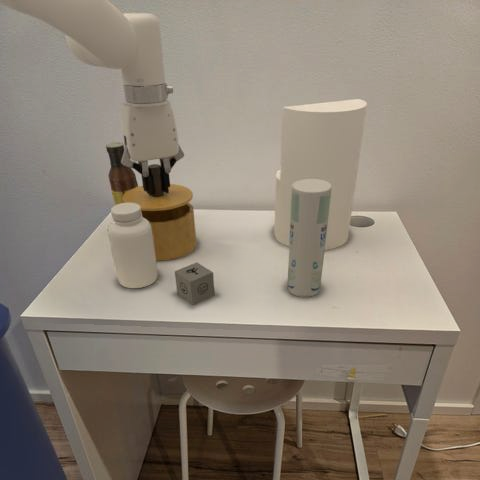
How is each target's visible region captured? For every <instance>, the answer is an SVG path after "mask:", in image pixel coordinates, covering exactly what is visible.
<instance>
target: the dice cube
mask: <svg viewBox="0 0 480 480" xmlns="http://www.w3.org/2000/svg"><path fill="white" fill-rule="evenodd" d="M174 278H175V285H176V293H177V295H178V296H179V297H181V298H182V299H184V300H185V301H186V302H187V303H189V304H190V305H192V306H194V305H197V304H198V303H201V302H203V301H206V300H207V299H209V298H212V297H213V296H215V281H214V271H212V270H210V269H208V268H207V267H206V266H204V265H202V264H201V263H199V262H198V261H197V262H193V263H191V264H189V265H186V266H184V267H181V268H179V269H176V270H174Z"/></svg>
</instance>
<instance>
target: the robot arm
mask: <svg viewBox="0 0 480 480" xmlns="http://www.w3.org/2000/svg"><path fill="white" fill-rule="evenodd" d="M0 4H2V5H4V6H6V7H8V8H10V9H11V10H14V11H17V12H19V13H22V14H24V15H28V16H30V17H33V18H34V19H38V20H40V21H41V22H43V23H46V24H47V25H49V26H51V27H53V28H55V29H56V30H58V31H59V32H61V33H63V34H64V35H65V42H66V44H67V47H68V49H69V51H70V52H71V54H72V55H73V56H74V57H75V58H76V59H78V60H79V61H80V62H82V63H84V64H86V65H89V66H92V67H93V66H95V67H99V68H107V69H110V70H121V78H122V84H123V91H124V99H125V102H123V103H121V117H120V118H121V132H122V143H123V144H124V153H123V156H122V160H121V163H122V164H123V165H124V166H127V167H130V168H131V169H132V170H133V169H134V171H136V172H138V173H139V174H140V175H141V182H142V186H143V189H144V191H146V192H147V193H148V194H149V195H150V196H153V195H154V192H153V184H152V177H151V176H150V175H149V172H148V166H149V161H153V160H154V161H155V160H159V163H160V164H159V165H161V172H162V181H163V190H164V192H165V193H169V188H168V187H170V184H171V179H170V174H171V172H172V169H173V168H174V166H175V164H177V162H179V161H180V160H182V159H183V158H184V157H185V153H184V152H183V150H182V147H181V146H180V144H179V137H178V130H177V124H176V120H175V119H176V118H175V115H174V111H173V107H172V104H171V101H170V100H168V97H169V95H171V94H174V87H173V86H172V85H168V84H167V83H166V78H165V77H166V76H165V67H164V55H163V46H162V34H161V26H160V21H159V19H158V17H157V16H156V15H155V14H154V13H149V12H128V13H127V12H124V13H123V12H122V11H120V10H119V9H118V8H117V7H116V6H115V5H113V3H111V2H110V1H109V0H0Z"/></svg>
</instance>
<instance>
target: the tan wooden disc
mask: <svg viewBox="0 0 480 480" xmlns="http://www.w3.org/2000/svg"><path fill="white" fill-rule="evenodd" d="M148 172H149V175H150V176H151V177H152V184H153V192H154V195H153V196H150V195H149V194H148V193H147V192H146V191H144V189H143V185H140V186H138V187H136V188H134V189H131V190H129V191H127V192H126V193H125V194H124V195H123V197H122V199H123V203H136V204H138V205H139V206H140V207H141V210H143V211H161V210H169V209H174V208H177V207H180V206H183V205H185V204H187V203H188V202H189V203H190V202H191V201H192V200H193V198H194V194H193V191H192V190H191V189H190V188H188V187H186V186H184V185H181V184H175V183H170V187H168V188H169V193H165V192H164V190H163V181H162V172H161V165H160V164H159V163H157V164H156V163H154V164H153V163H152V164H148Z"/></svg>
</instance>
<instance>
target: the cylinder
mask: <svg viewBox="0 0 480 480" xmlns="http://www.w3.org/2000/svg"><path fill="white" fill-rule="evenodd" d="M367 106H368V103H367V101H365V100H363V99H360V98H355V99H345V100H336V101H327V102H317V103H307V104H298V105H288V106H283V107H282V117H281V118H282V119H281V144H280V145H281V147H280V169H278V170H277V171H276V173H275V197H274V198H275V199H274V224H273V225H274V226H273V227H274V228H273V229H274V230H273V231H274V232H273V233H274V238H275V239H276V240H277V241H278V242H279V243H281V244H282V245H284V246H287V247H289V241H290V218H291V196H292V184H293V183H294V182H296V181H298V180H302V179H319V180H324V181H327V182H328V183H330V184H331V187H332V189H331V198H330V207H329V216H328V224H327V233H326V242H325V251H328V250H333V249H336V248H339V247H341V246H342V245H344V244H345V243H346V242H347V241H348V239H349V233H350V227H351V220H352V219H351V218H352V214H353V213H352V212H353V207H354V206H353V204H354V199H355V198H354V197H355V191H356V183H357V177H358V171H359V169H358V168H359V163H360V155H361V149H362V141H363V134H364V127H365V120H366V114H367V113H366V112H367Z"/></svg>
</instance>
